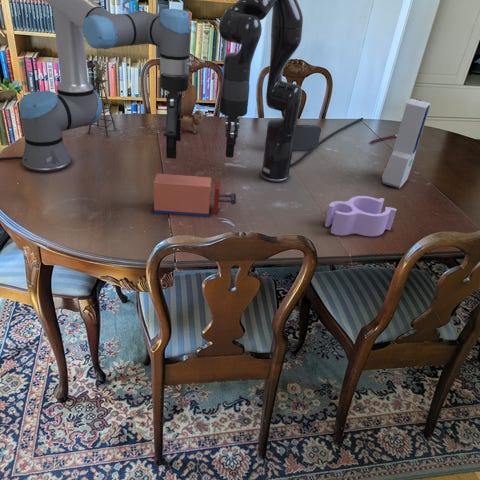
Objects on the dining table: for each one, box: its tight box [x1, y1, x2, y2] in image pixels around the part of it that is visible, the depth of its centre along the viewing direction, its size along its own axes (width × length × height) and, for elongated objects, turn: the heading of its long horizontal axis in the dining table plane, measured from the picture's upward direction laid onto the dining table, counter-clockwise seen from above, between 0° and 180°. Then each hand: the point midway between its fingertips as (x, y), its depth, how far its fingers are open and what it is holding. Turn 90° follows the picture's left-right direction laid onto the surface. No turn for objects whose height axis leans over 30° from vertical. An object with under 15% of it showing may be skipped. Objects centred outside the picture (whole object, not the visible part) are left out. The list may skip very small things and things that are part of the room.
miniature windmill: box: [86, 53, 117, 137], centre depth 181 cm, size 9×8×30 cm
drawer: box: [209, 181, 237, 214], centre depth 140 cm, size 20×5×8 cm, turn 92°
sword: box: [370, 133, 398, 145], centre depth 214 cm, size 31×3×1 cm, turn 126°
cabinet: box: [153, 173, 212, 217], centre depth 139 cm, size 16×6×10 cm, turn 91°
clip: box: [324, 195, 398, 237], centre depth 141 cm, size 20×12×7 cm, turn 109°
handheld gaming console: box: [291, 124, 322, 152], centre depth 189 cm, size 23×3×10 cm, turn 108°
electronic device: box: [381, 98, 432, 189], centre depth 166 cm, size 12×8×30 cm, turn 148°
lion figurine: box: [181, 109, 204, 134], centre depth 195 cm, size 15×5×9 cm, turn 110°
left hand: (173, 148), depth 136 cm, fingers open, 13 cm apart
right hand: (229, 156), depth 133 cm, fingers closed
